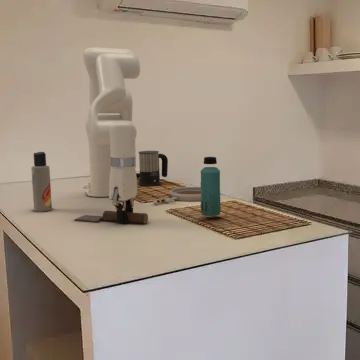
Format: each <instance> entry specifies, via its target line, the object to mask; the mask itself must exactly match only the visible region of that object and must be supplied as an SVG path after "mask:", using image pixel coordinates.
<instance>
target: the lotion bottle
mask: <svg viewBox="0 0 360 360" xmlns="http://www.w3.org/2000/svg"><path fill="white" fill-rule="evenodd" d="M46 155H47V154H46V153H45V151H37V152H33V166H31V182H32V184H31V185H32V200H33V211H34V212H37V213H39V212H40V213H42V212H43V213H44V212H49V211H52V209H53V205H52V202H53V201H52V187H51V169H50V166H49V165H47V156H46Z"/></svg>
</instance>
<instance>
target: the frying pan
mask: <svg viewBox="0 0 360 360" xmlns="http://www.w3.org/2000/svg"><path fill="white" fill-rule="evenodd" d="M169 195H170V197H169V198H161V197H158V200H156V199H154V200H153V202H152V204H153V205H156V206H157V204H160V203H163V202H164V203H173V204H175V203H176V202H175V200H176V201H180V202H201V186H181V187H176V188H172V189H170V191H169Z"/></svg>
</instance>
